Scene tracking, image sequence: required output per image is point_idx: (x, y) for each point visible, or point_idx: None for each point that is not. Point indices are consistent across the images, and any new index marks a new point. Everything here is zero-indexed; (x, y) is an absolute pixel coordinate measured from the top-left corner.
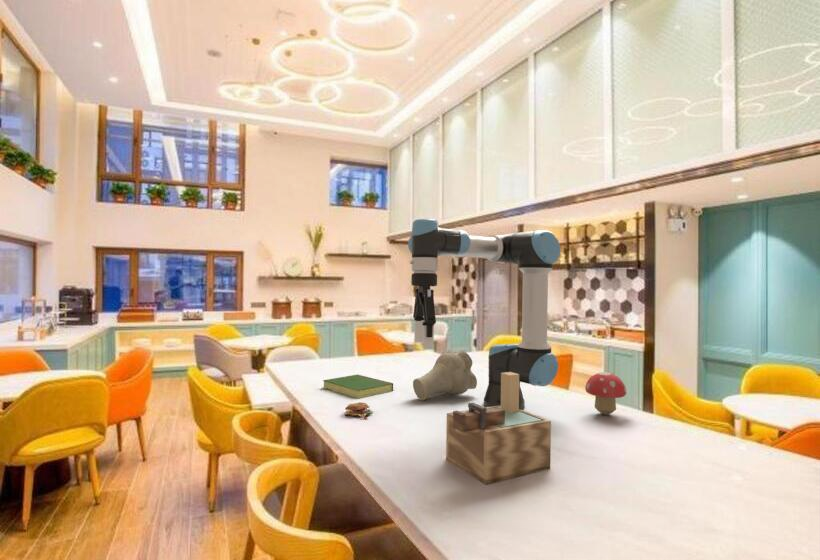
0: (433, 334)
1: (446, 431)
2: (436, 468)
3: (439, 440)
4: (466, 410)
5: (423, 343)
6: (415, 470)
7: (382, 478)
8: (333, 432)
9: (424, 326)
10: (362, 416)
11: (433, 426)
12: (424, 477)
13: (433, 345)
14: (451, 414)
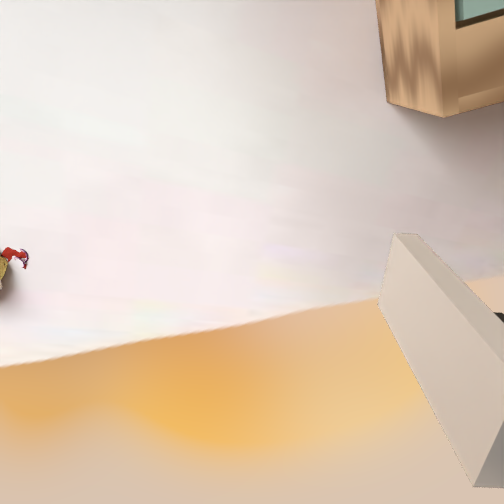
0: (484, 305)
1: (416, 109)
2: (434, 147)
3: (238, 73)
4: (440, 11)
5: (393, 330)
6: (425, 199)
7: None
8: (137, 337)
9: (502, 472)
10: (3, 263)
11: (93, 51)
12: (469, 189)
13: (429, 247)
14: (466, 103)
